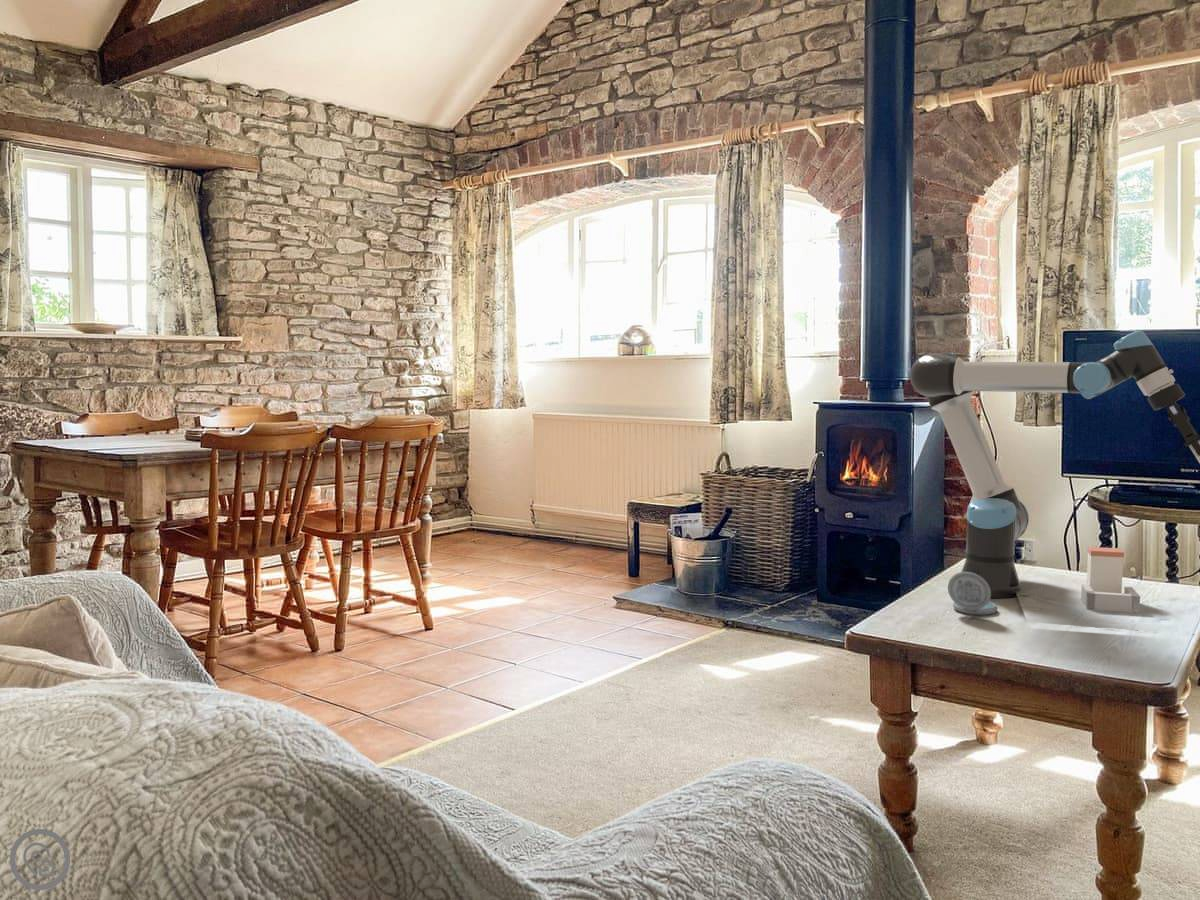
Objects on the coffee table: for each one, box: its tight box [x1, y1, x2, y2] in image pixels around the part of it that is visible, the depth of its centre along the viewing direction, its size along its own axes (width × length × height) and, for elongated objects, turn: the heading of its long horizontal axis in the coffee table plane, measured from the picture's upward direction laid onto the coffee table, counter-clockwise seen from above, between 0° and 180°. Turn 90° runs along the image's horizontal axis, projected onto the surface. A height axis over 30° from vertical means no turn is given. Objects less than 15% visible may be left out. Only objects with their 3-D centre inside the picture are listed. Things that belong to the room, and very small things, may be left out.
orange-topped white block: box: [1086, 546, 1125, 593], centre depth 243 cm, size 5×7×12 cm
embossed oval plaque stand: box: [947, 571, 998, 616], centre depth 236 cm, size 10×11×15 cm
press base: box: [1080, 583, 1141, 613], centre depth 239 cm, size 20×14×5 cm
